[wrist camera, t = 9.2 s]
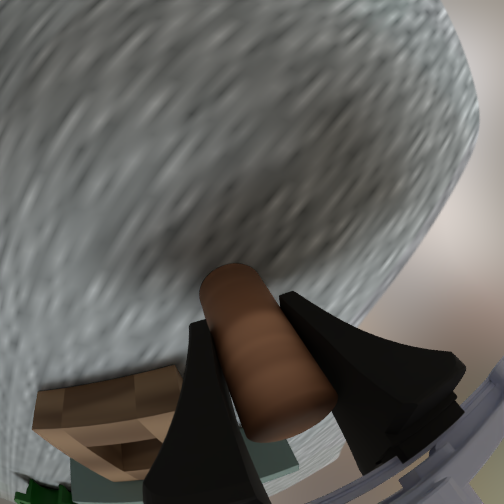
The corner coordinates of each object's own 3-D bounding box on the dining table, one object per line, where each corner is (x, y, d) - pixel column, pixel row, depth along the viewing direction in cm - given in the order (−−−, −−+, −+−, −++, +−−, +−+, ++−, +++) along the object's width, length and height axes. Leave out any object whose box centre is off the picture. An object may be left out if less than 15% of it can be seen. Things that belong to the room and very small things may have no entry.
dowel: (192, 274, 12) (236, 416, 6) (257, 255, 13) (343, 373, 7) (208, 323, 14) (252, 451, 8) (265, 305, 14) (333, 418, 8)
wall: (70, 456, 16) (72, 501, 12) (275, 416, 20) (298, 464, 16) (82, 464, 17) (85, 506, 13) (276, 425, 21) (298, 470, 17)
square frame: (37, 391, 12) (31, 429, 10) (174, 364, 14) (183, 408, 12) (110, 453, 17) (113, 482, 15) (216, 433, 19) (226, 464, 17)
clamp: (69, 462, 24) (91, 510, 17) (83, 482, 25) (106, 525, 19) (5, 472, 16) (18, 522, 9) (23, 493, 17) (39, 538, 10)
